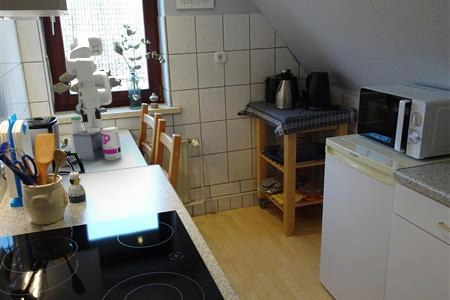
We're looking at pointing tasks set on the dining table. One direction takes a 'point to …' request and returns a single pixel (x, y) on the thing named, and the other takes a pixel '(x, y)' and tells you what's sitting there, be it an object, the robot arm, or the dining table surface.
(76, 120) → the milk bottle
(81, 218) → the dining table surface
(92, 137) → the box
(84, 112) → the robot arm
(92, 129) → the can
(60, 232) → the dining table surface
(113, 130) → the supplement can
